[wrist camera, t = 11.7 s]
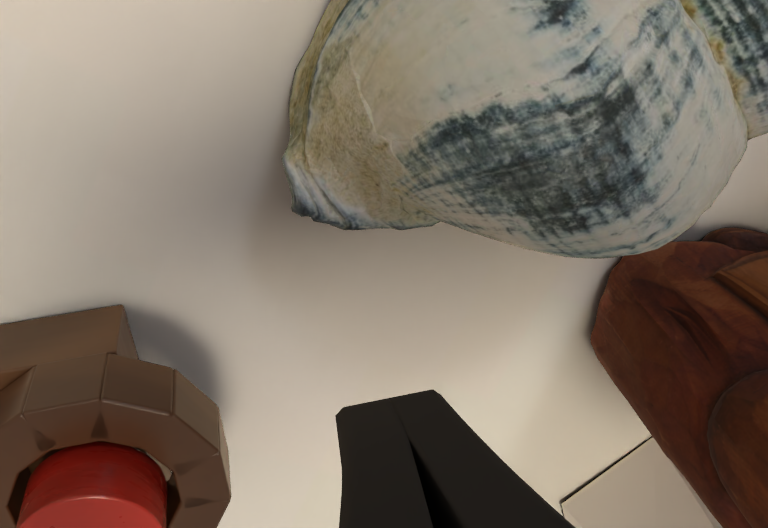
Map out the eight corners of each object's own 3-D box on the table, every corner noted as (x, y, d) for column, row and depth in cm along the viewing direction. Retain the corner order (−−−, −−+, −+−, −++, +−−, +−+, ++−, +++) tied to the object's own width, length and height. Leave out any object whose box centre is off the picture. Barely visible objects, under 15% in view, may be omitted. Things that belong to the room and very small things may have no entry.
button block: (201, 288, 20) (203, 379, 16) (246, 499, 24) (256, 606, 20) (-212, 357, 18) (-306, 473, 15) (-88, 571, 22) (-139, 701, 19)
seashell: (294, -83, 17) (717, 1, 21) (272, 232, 18) (691, 264, 21) (357, -245, 11) (944, -90, 14) (320, 241, 12) (902, 284, 15)
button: (151, 428, 17) (148, 483, 16) (179, 522, 19) (177, 579, 17) (8, 456, 17) (-10, 515, 15) (48, 551, 18) (35, 613, 17)
